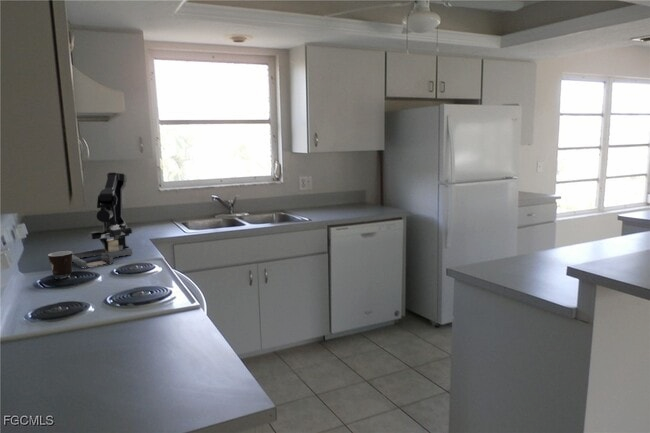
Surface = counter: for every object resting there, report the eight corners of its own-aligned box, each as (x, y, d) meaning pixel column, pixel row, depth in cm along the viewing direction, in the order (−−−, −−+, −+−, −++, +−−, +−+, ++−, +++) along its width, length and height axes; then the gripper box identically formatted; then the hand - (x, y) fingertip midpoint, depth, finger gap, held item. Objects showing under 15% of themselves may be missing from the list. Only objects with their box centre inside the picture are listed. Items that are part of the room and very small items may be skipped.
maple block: (106, 252, 229) (104, 240, 228) (115, 250, 232) (114, 238, 231) (109, 253, 226) (108, 241, 225) (119, 252, 229) (118, 240, 228)
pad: (83, 264, 212) (83, 264, 212) (102, 261, 218) (102, 260, 218) (89, 267, 207) (88, 266, 207) (107, 264, 213) (107, 263, 213)
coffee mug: (53, 275, 196) (50, 252, 195) (76, 273, 199) (73, 250, 198) (47, 283, 186) (44, 258, 184) (72, 280, 189) (69, 256, 187)
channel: (68, 260, 221) (67, 254, 221) (122, 250, 239) (121, 244, 238) (84, 269, 206) (83, 262, 205) (140, 258, 223) (140, 251, 222)
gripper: (95, 223, 214) (98, 256, 217) (135, 217, 227) (138, 249, 230) (86, 220, 222) (89, 252, 225) (126, 215, 235) (128, 245, 238)
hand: (112, 250), depth 229 cm, fingers closed on maple block, 4 cm apart
